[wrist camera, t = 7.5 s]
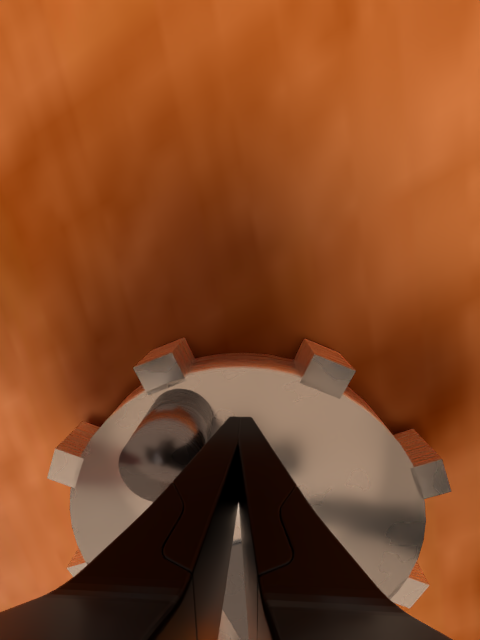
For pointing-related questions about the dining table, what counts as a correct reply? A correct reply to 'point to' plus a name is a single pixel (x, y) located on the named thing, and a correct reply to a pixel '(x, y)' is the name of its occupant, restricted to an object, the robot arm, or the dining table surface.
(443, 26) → the dining table surface
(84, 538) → the sprocket
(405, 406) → the dining table surface
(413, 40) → the dining table surface
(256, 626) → the robot arm
